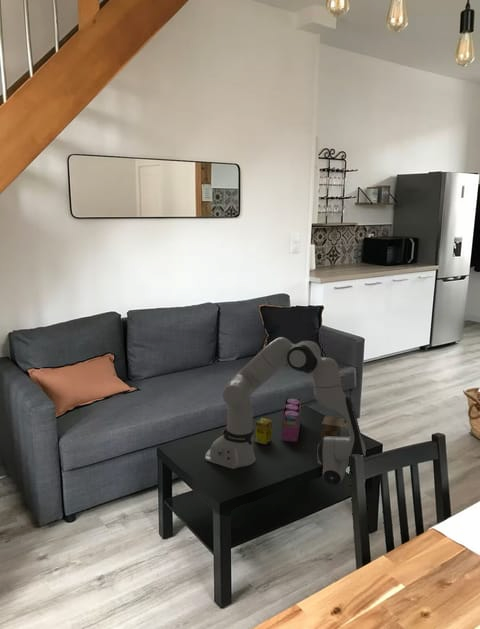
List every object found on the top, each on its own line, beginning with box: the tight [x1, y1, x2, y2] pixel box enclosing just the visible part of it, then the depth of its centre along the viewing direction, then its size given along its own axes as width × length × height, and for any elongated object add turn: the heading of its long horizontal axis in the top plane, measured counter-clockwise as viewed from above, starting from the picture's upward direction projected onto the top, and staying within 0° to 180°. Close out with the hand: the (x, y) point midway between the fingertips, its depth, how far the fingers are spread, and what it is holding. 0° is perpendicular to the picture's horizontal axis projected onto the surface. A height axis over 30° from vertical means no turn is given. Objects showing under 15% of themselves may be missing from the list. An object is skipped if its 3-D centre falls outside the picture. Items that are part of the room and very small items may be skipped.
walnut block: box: [320, 415, 346, 440], centre depth 252 cm, size 10×10×8 cm
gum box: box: [281, 397, 302, 443], centre depth 256 cm, size 24×8×14 cm, turn 171°
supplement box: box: [254, 417, 273, 446], centre depth 244 cm, size 6×6×11 cm
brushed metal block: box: [340, 422, 350, 437], centre depth 238 cm, size 5×5×12 cm
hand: (343, 445), depth 228 cm, fingers open, 8 cm apart
